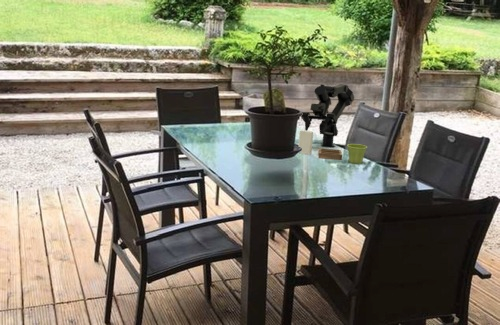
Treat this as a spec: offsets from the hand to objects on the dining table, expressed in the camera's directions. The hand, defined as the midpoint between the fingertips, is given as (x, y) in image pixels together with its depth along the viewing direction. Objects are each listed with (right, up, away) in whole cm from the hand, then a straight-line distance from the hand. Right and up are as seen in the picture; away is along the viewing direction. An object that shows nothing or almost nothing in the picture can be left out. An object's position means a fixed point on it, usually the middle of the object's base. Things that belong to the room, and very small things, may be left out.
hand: (313, 131), depth 280 cm
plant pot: (+18, -17, -16) cm, 29 cm away
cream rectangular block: (-5, -12, -4) cm, 13 cm away
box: (+7, -14, -8) cm, 17 cm away
